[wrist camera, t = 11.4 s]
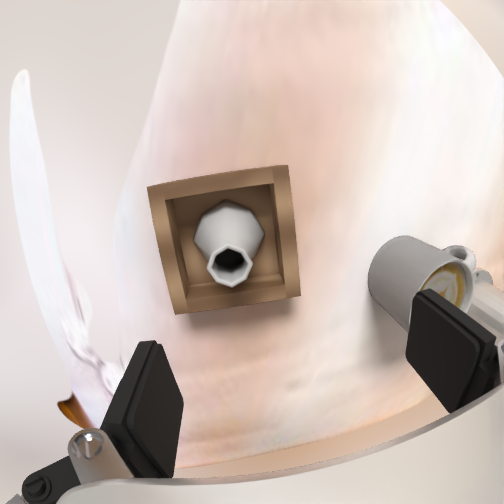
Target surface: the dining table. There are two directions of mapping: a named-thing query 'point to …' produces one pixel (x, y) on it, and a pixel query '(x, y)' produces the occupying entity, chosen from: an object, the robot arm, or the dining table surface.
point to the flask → (229, 241)
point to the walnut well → (192, 260)
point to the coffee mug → (420, 275)
